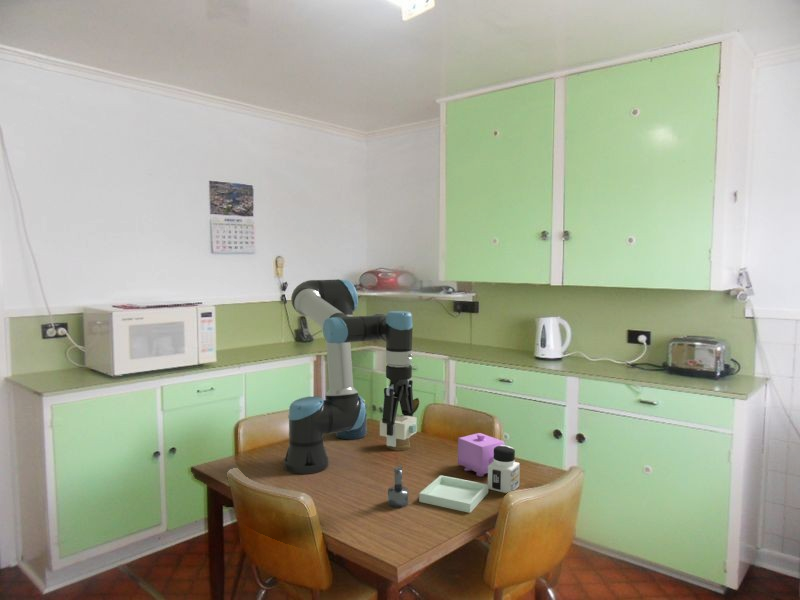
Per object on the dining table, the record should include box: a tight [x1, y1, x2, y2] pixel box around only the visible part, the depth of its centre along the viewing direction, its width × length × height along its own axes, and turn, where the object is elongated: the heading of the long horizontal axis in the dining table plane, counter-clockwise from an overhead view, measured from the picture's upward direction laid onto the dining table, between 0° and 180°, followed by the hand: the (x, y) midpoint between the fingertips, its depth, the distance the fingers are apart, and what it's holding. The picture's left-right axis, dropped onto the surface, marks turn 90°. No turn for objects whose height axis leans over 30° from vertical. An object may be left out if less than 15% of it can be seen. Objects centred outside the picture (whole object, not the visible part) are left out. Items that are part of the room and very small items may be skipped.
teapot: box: [457, 432, 505, 478], centre depth 195 cm, size 20×10×12 cm, turn 35°
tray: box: [418, 474, 489, 514], centre depth 174 cm, size 16×16×3 cm
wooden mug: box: [386, 397, 420, 452], centre depth 221 cm, size 9×14×18 cm, turn 122°
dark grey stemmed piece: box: [387, 465, 409, 509], centre depth 169 cm, size 6×6×11 cm
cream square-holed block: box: [379, 413, 418, 440], centre depth 168 cm, size 9×8×4 cm
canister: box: [335, 398, 368, 440], centre depth 234 cm, size 13×13×18 cm
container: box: [487, 444, 521, 494], centre depth 181 cm, size 8×8×13 cm
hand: (398, 441), depth 168 cm, fingers closed on cream square-holed block, 8 cm apart
